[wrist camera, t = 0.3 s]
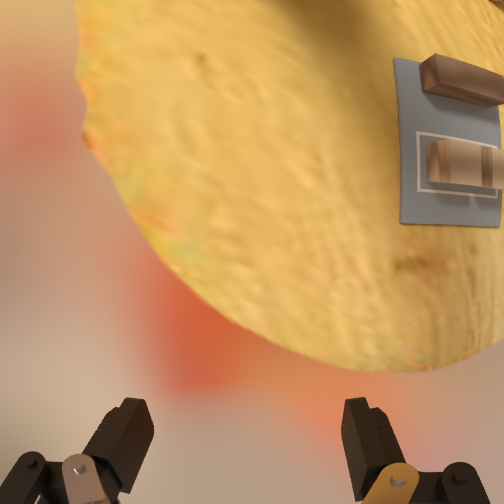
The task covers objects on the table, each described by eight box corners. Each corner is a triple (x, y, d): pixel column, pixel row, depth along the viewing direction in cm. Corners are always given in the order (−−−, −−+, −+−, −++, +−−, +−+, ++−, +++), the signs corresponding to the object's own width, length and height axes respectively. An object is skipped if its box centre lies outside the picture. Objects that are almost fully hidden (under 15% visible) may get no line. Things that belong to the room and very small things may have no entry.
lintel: (418, 65, 31) (434, 53, 26) (483, 83, 30) (503, 76, 25) (421, 92, 32) (439, 82, 27) (487, 108, 31) (507, 103, 26)
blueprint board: (392, 59, 32) (395, 57, 31) (491, 85, 31) (495, 84, 30) (399, 222, 37) (402, 223, 36) (496, 225, 36) (500, 226, 35)
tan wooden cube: (425, 143, 33) (449, 138, 28) (455, 147, 33) (480, 144, 27) (426, 181, 34) (450, 182, 29) (456, 184, 34) (481, 186, 28)
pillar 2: (466, 149, 33) (492, 147, 27) (490, 154, 33) (516, 153, 27) (466, 185, 34) (492, 188, 28) (491, 188, 34) (516, 191, 28)
